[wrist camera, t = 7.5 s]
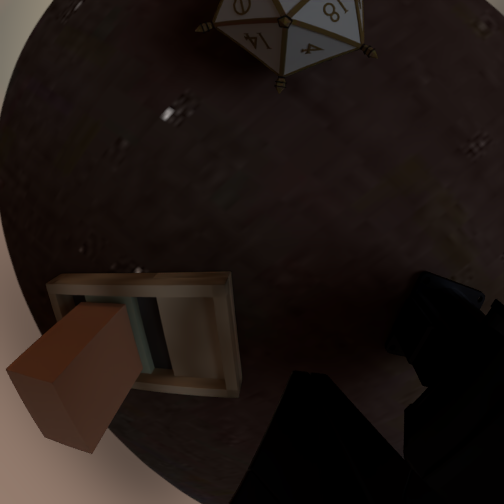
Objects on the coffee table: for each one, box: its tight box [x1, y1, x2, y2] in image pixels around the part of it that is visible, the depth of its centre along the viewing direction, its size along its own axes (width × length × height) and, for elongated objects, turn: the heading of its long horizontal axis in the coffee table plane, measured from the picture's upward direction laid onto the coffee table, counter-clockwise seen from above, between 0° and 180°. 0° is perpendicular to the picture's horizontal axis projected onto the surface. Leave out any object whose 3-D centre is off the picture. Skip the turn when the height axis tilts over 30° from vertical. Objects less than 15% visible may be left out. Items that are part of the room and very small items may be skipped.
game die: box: [195, 0, 378, 94], centre depth 12 cm, size 9×8×10 cm
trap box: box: [46, 271, 242, 398], centre depth 22 cm, size 14×9×2 cm, turn 94°
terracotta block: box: [6, 302, 143, 454], centre depth 17 cm, size 4×6×9 cm
